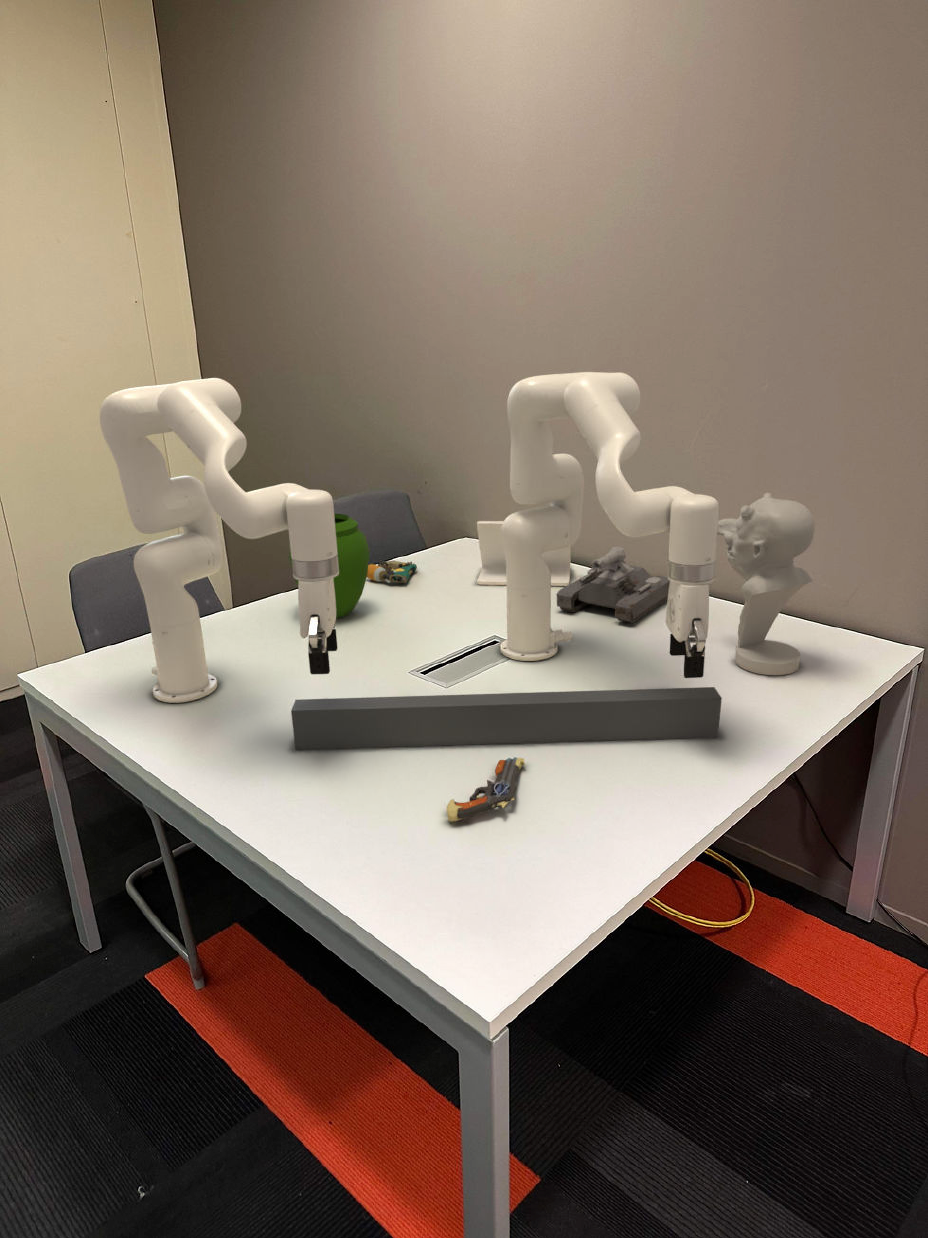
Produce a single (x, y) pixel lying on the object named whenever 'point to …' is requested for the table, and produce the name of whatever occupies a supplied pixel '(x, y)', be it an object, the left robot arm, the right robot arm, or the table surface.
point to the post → (506, 718)
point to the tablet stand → (496, 562)
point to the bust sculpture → (767, 576)
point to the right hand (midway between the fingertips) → (685, 665)
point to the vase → (348, 564)
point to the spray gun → (391, 571)
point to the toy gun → (490, 792)
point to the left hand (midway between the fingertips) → (324, 661)
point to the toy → (615, 588)
